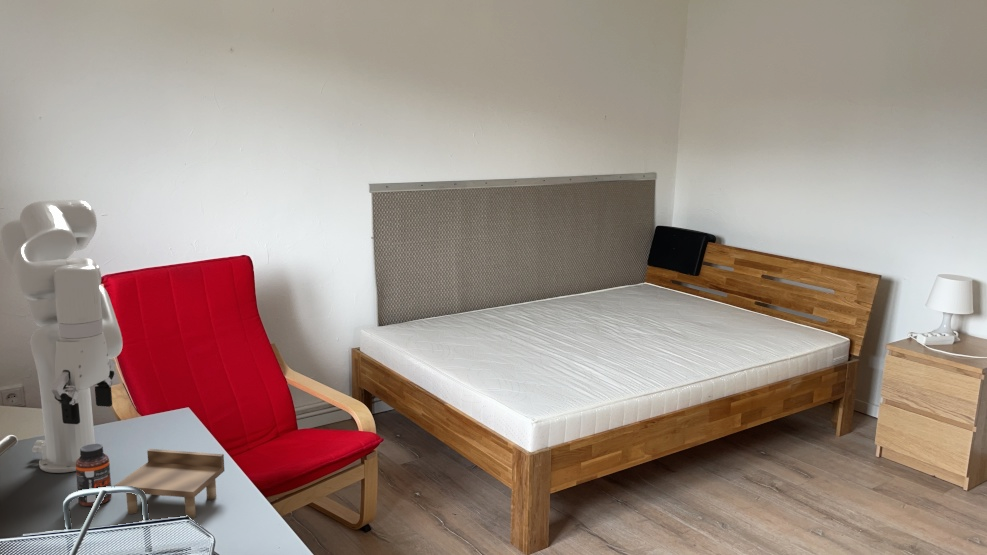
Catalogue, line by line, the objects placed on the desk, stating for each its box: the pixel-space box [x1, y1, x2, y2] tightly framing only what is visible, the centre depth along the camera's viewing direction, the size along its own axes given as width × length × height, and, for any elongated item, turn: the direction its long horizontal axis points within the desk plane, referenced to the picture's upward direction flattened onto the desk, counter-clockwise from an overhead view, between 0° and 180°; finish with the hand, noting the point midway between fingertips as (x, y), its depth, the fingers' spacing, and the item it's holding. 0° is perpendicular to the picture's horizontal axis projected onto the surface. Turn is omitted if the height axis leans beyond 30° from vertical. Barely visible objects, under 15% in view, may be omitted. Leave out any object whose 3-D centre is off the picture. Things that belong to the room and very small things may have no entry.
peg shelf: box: [114, 448, 225, 520], centre depth 151 cm, size 16×12×9 cm
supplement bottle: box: [75, 443, 113, 507], centre depth 152 cm, size 6×6×11 cm
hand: (88, 414), depth 150 cm, fingers open, 9 cm apart
